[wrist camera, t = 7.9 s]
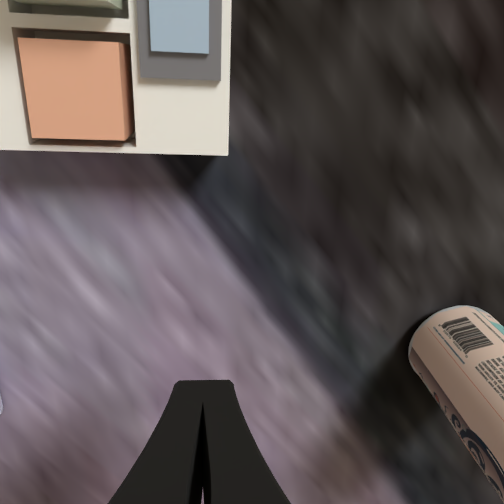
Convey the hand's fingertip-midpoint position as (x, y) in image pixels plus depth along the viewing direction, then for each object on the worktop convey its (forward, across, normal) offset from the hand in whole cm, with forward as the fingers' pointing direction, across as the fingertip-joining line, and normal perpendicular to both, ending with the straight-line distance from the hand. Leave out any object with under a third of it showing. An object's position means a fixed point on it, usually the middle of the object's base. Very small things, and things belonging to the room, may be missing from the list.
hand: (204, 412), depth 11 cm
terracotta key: (+9, +4, -7) cm, 12 cm away
